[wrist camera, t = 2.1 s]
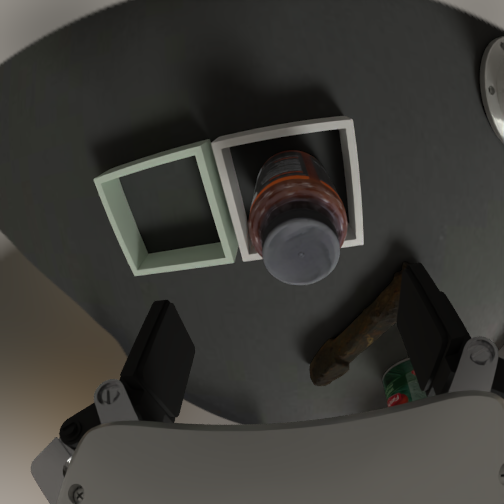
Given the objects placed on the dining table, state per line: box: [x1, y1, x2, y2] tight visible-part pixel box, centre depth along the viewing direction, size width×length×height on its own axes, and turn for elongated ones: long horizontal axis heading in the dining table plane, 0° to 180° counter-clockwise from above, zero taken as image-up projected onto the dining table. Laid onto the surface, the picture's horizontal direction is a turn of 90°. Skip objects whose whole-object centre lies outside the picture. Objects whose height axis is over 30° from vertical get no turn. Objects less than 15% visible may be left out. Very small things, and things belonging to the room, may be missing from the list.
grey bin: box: [211, 116, 364, 262], centre depth 23 cm, size 10×10×3 cm
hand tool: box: [310, 262, 410, 386], centre depth 30 cm, size 19×4×5 cm, turn 149°
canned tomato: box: [382, 358, 436, 407], centre depth 32 cm, size 8×8×11 cm
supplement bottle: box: [248, 150, 348, 285], centre depth 19 cm, size 6×6×11 cm
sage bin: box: [94, 139, 239, 276], centre depth 25 cm, size 10×10×3 cm
